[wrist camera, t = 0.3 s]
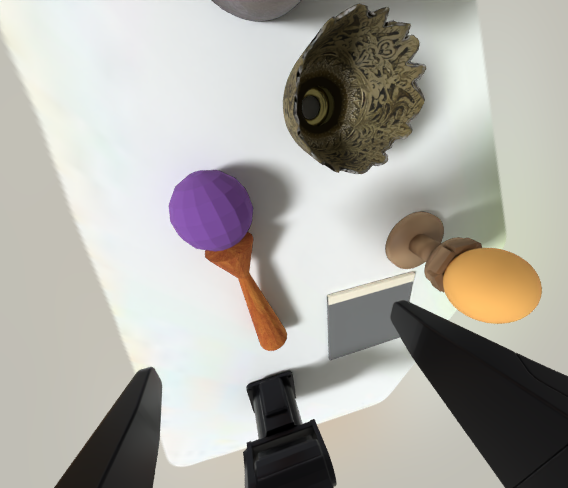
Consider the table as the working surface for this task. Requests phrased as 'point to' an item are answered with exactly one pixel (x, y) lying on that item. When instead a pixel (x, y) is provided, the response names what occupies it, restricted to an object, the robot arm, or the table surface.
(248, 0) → the pillar candle
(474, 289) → the rubber ball
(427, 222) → the ball tee
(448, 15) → the table surface
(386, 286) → the mat
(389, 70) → the cup
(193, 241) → the kendama
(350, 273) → the table surface
